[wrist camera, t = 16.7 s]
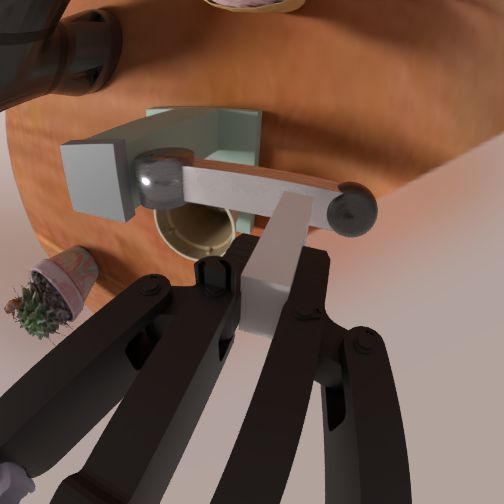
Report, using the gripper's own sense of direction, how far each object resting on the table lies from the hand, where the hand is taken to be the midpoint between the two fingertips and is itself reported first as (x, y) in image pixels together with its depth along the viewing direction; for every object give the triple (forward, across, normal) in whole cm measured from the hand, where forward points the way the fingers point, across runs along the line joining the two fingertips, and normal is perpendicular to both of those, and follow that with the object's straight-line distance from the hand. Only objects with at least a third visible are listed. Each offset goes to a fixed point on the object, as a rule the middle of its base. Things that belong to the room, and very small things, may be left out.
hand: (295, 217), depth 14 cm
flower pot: (+17, -11, -8) cm, 22 cm away
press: (+19, -15, -5) cm, 25 cm away
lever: (+4, -3, 0) cm, 5 cm away
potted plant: (+20, -49, -33) cm, 62 cm away
